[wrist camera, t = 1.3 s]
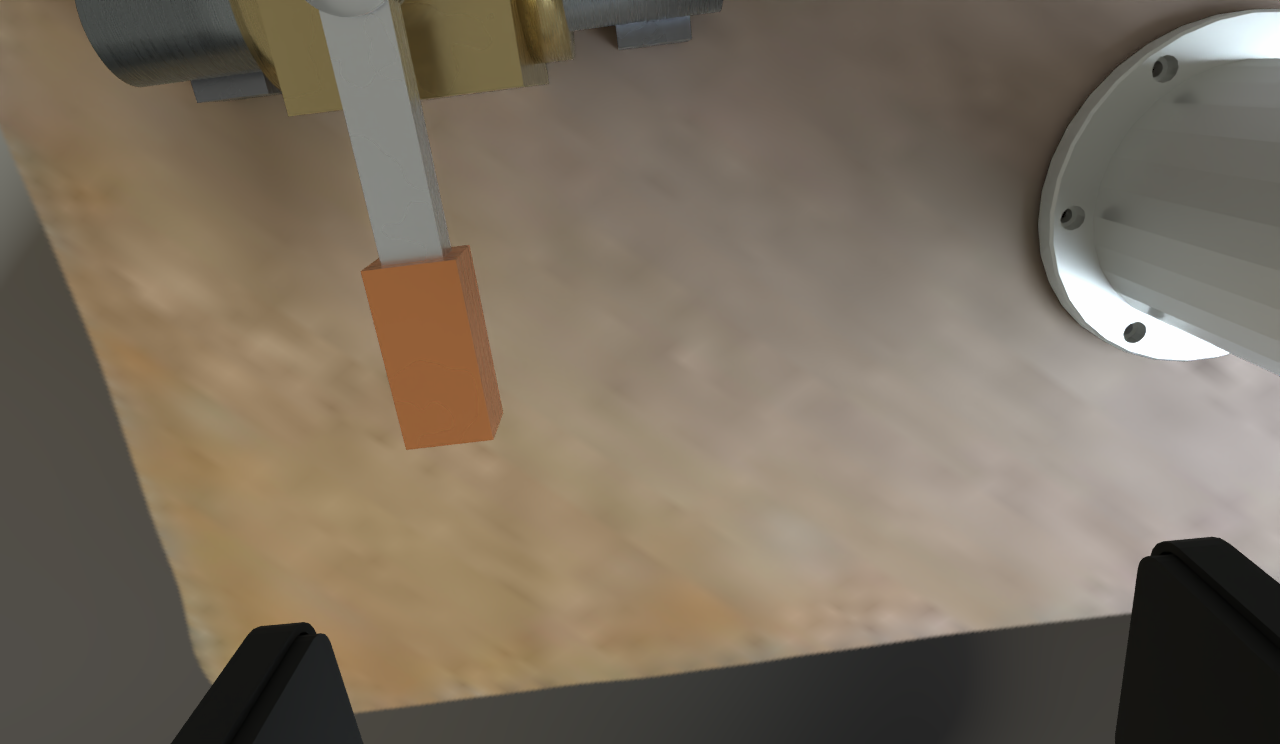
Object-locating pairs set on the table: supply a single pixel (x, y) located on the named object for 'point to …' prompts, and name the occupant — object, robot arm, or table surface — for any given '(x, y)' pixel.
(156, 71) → the pipe valve
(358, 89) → the valve handle
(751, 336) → the table surface
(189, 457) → the table surface
